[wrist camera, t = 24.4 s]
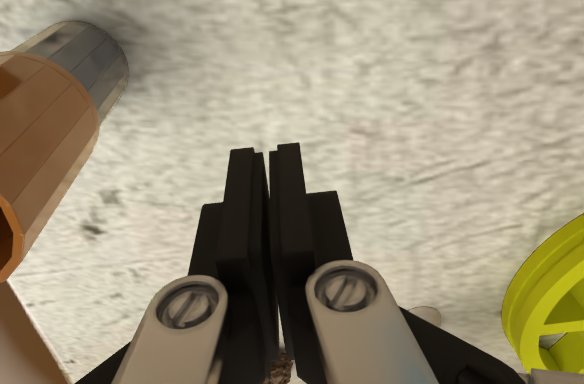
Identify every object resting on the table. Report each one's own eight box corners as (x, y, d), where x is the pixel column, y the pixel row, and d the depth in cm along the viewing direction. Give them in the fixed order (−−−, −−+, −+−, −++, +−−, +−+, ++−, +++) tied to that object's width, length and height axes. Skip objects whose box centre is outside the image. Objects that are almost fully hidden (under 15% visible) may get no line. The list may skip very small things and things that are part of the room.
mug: (109, 13, 30) (64, 48, 23) (140, 99, 33) (110, 153, 26) (-19, 36, 30) (-104, 78, 23) (25, 119, 33) (-37, 178, 26)
